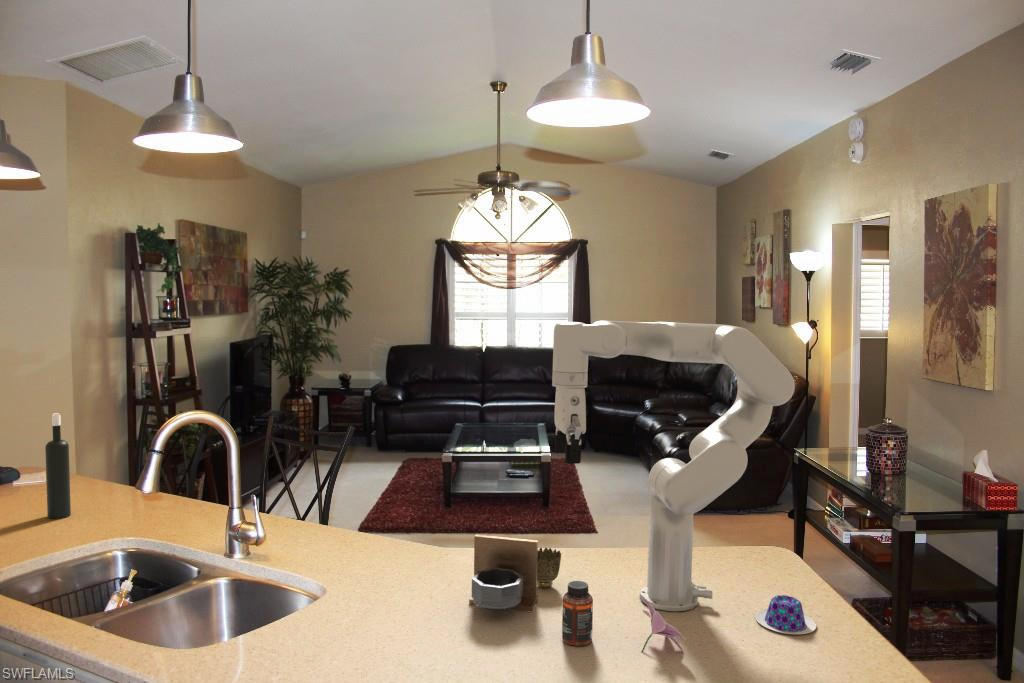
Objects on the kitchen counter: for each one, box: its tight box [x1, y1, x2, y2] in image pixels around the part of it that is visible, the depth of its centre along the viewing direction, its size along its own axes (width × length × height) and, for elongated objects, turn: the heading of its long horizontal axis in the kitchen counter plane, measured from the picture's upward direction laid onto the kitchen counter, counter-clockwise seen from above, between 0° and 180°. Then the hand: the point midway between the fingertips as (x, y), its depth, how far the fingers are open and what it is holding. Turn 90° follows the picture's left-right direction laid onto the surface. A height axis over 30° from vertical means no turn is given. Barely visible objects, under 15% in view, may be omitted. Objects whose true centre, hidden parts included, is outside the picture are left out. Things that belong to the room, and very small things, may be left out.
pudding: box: [754, 594, 817, 635], centre depth 157 cm, size 12×12×5 cm
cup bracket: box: [468, 534, 539, 613], centre depth 160 cm, size 14×14×14 cm
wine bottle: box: [44, 412, 72, 520], centre depth 217 cm, size 6×6×30 cm
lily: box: [639, 593, 686, 653], centre depth 145 cm, size 12×12×10 cm
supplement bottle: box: [561, 580, 594, 647], centre depth 147 cm, size 6×6×11 cm
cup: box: [537, 547, 562, 590], centre depth 173 cm, size 8×7×8 cm
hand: (567, 457), depth 163 cm, fingers open, 9 cm apart
